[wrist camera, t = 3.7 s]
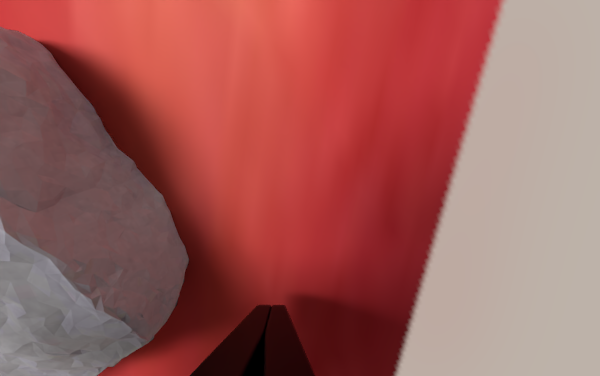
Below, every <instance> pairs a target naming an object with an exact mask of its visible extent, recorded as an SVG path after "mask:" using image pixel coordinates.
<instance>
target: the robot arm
mask: <svg viewBox="0 0 600 376" xmlns="http://www.w3.org/2000/svg"><path fill="white" fill-rule="evenodd" d="M190 376H315V375H314V373H313V370H312V368H311V365H310V363H309V361H308V358H307V356H306V354H305V351H304V349H303V347H302V344H301V342H300V339H299V337H298V335H297V332H296V330H295V328H294V325H293V323H292V321H291V318H290V316H289V313H288V311H287V309H286V307H285V306H284V305H273V306H272V307H271V305H258V306H256V307H255V308H254V310H253V311H252V312H251V313H250V314H249V315H248V316H247V317H246V318H245V319H244V320H243V321H242V322H241V323H240V324H239V325H238V326H237V327H236V328H235V329H234V330H233V331H232V332H231V333H230V334H229V335H228V337H227V338H226V339H225V340H224V341H223V342H222V343H221V344H220V345H219V346H218V347H217V348H216V349H215V350H214V351H213V352H212V353H211V354H210V355H209V356H208V357H207V358H206V359H205V360H204V361H203V362H202V363H201V365H200V366H199V367H198V368H197V369H196V370H195V371H194V372H193V373H192V374H191V375H190Z"/></svg>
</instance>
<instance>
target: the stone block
mask: <svg viewBox="0 0 600 376" xmlns="http://www.w3.org/2000/svg"><path fill="white" fill-rule="evenodd" d="M188 262H189V258H188V255H187V252H186V248H185V246H184V244H183V242H182V241H181V239H180V237H179V235H178V232H177V229H176V227H175V224H174V222H173V219H172V215H171V212H170V210H169V208H168V207H167V205H166V202H165V200H164V197H163V195H162V194H161V193H159V192H158V191H157V190H156V188H155V187H154V186H153V185H152V184H151V183H150V182H149V181H148V180H147V179H146V178H145V177H144V175H143V174H142V173H141V172H140V171H139V170H138V169H137V167H136V164H135V162H134V161H133V160H132V159H131V158H129V157H128V156H127V155H125V154H124V153H123V152H122V151H120V150H119V149H118V148H117V147H116V145H115V143H114V142H113V140H112V139H111V137H110V135H109V134H108V133H107V132H106V130H105V128H104V126H103V124H102V121H101V119H100V117H99V116H98V115H97V114H96V111H95V109H94V107H93V106H92V104H91V103H90V102H89V101H88V100H87V99H86V98H85V97H84V95H83V94H82V93H81V92H80V91H79V89H78V88H77V87H76V86H75V84H74V83H73V82H72V81H71V80H70V78H69V77H68V76H67V75H66V73H65V72H64V71H63V70H62V69H61V68H60V66H59V65H58V64H57V62H56V61H55V59H54V57H53V56H52V54H51V53H50V51H49V50H47V49H46V48H45V47H44V46H43V45H42V44H40V43H39V42H37V41H36V40H34V39H32V38H31V37H29V36H27V35H25V34H23V33H21V32H19V31H15V30H8V29H4V28H2V27H0V376H97V375H98V374H100V373H101V372H102V371H103V370H104V369H106V368H107V367H114V366H115V365H116V364H117V363H118V362H120V360H121V359H122V358H125V357H127V356H128V355H129V354H131V353H132V352H134V351H136V350H137V349H139V348H141V347H142V346H144V345H146V344H147V343H149V342H150V341H151V340H153V339H154V335H155V334H156V333H157V332H158V331H159V330H160V329H161V327H162V326H163V325H164V324H165V323H166V322H167V320H168V318H169V316H170V315H171V313H172V311H173V310H174V308H175V307H176V305H177V302H178V297H179V296H180V295H179V293H180V290H181V288H182V285H183V283H184V275H185V270H186V268H187V266H188Z"/></svg>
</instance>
